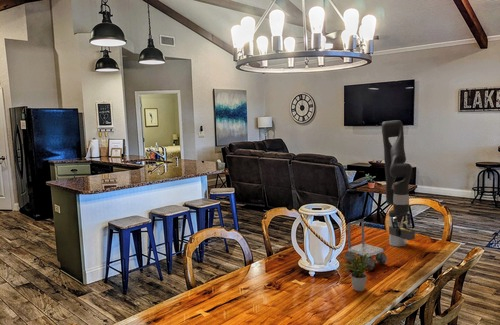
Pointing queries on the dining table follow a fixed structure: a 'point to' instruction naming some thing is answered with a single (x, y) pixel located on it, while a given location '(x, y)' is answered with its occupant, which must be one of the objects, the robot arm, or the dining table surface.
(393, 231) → the block
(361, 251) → the trolley
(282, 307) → the dining table surface
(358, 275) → the house plant
